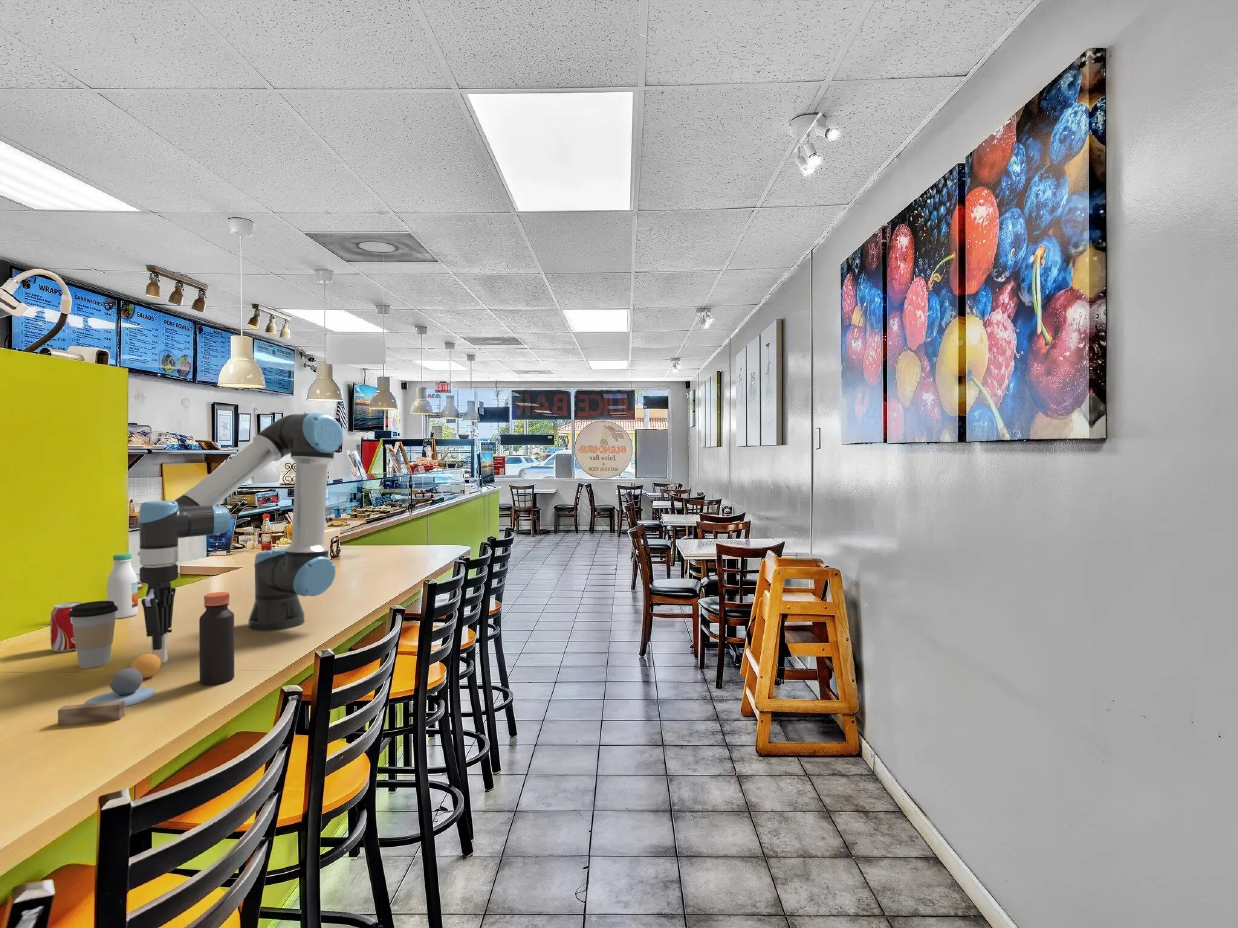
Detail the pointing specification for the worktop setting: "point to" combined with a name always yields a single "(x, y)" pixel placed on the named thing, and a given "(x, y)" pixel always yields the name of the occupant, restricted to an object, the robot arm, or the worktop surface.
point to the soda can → (62, 628)
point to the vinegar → (216, 640)
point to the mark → (124, 697)
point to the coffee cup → (93, 632)
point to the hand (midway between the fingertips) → (159, 661)
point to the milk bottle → (123, 586)
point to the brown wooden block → (91, 712)
